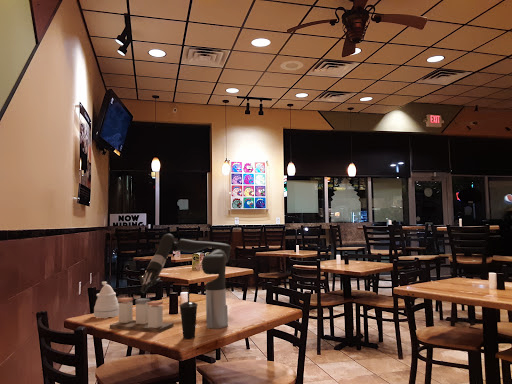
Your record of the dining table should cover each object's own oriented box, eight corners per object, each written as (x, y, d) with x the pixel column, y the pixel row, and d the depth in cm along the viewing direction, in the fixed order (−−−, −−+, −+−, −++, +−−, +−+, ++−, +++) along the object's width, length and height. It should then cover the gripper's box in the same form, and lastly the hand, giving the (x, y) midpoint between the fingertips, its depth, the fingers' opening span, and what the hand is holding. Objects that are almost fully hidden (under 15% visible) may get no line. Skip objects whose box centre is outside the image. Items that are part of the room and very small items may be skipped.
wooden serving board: (173, 326, 194) (173, 323, 194) (159, 332, 183) (159, 329, 183) (125, 322, 204) (125, 319, 204) (109, 328, 194) (109, 324, 194)
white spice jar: (132, 320, 199) (132, 297, 200) (127, 322, 195) (127, 299, 196) (124, 320, 201) (124, 297, 202) (118, 322, 197) (118, 299, 198)
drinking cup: (199, 334, 178) (198, 287, 179) (197, 339, 170) (196, 290, 172) (181, 335, 178) (180, 288, 179) (178, 340, 170) (178, 291, 171)
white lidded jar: (150, 322, 196) (149, 298, 196) (144, 324, 192) (144, 300, 193) (141, 321, 198) (140, 298, 198) (135, 323, 194) (135, 299, 194)
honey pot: (88, 317, 218) (88, 283, 220) (107, 312, 230) (107, 279, 231) (105, 319, 212) (105, 284, 214) (124, 314, 224) (124, 280, 225)
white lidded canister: (162, 325, 188) (162, 301, 189) (157, 327, 184) (157, 303, 185) (153, 324, 190) (153, 300, 191) (147, 327, 186) (147, 302, 187)
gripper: (169, 269, 224) (156, 296, 212) (149, 269, 229) (135, 295, 217) (163, 260, 219) (149, 287, 207) (143, 260, 224) (128, 287, 212)
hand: (142, 291), depth 212 cm, fingers closed
